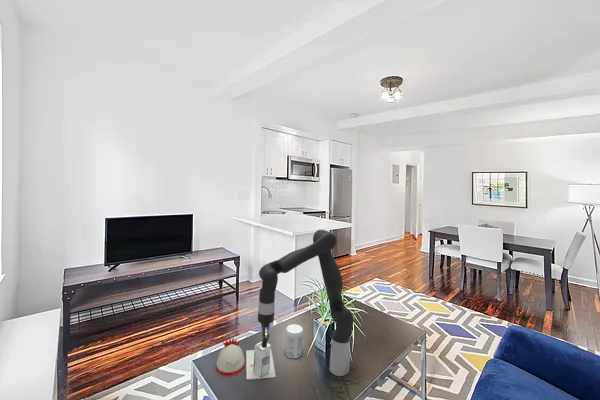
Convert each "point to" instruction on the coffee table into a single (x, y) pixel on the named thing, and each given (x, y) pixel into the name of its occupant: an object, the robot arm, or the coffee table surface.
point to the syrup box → (261, 359)
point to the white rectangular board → (249, 369)
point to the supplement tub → (294, 341)
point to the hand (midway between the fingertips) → (264, 346)
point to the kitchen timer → (230, 358)
